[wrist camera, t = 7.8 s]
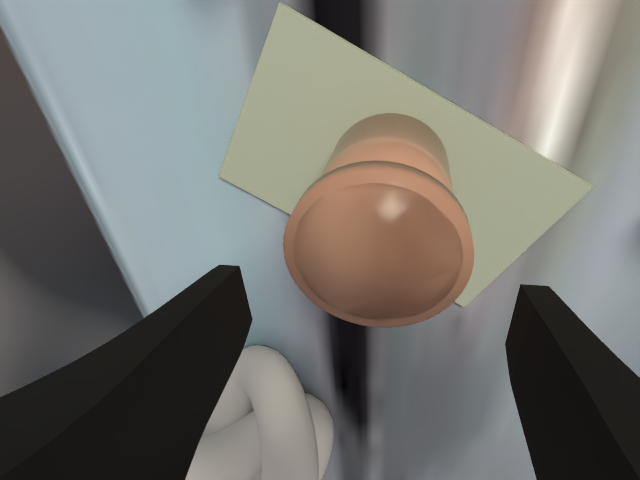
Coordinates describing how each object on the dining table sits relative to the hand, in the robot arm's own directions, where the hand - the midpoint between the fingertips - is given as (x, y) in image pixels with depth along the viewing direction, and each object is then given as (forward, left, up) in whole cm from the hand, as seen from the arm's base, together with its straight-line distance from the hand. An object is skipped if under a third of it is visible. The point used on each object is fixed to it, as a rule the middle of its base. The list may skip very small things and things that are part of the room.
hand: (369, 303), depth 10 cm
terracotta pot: (0, 0, -8) cm, 8 cm away
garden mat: (0, 0, -8) cm, 8 cm away
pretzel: (-2, +19, -9) cm, 21 cm away
